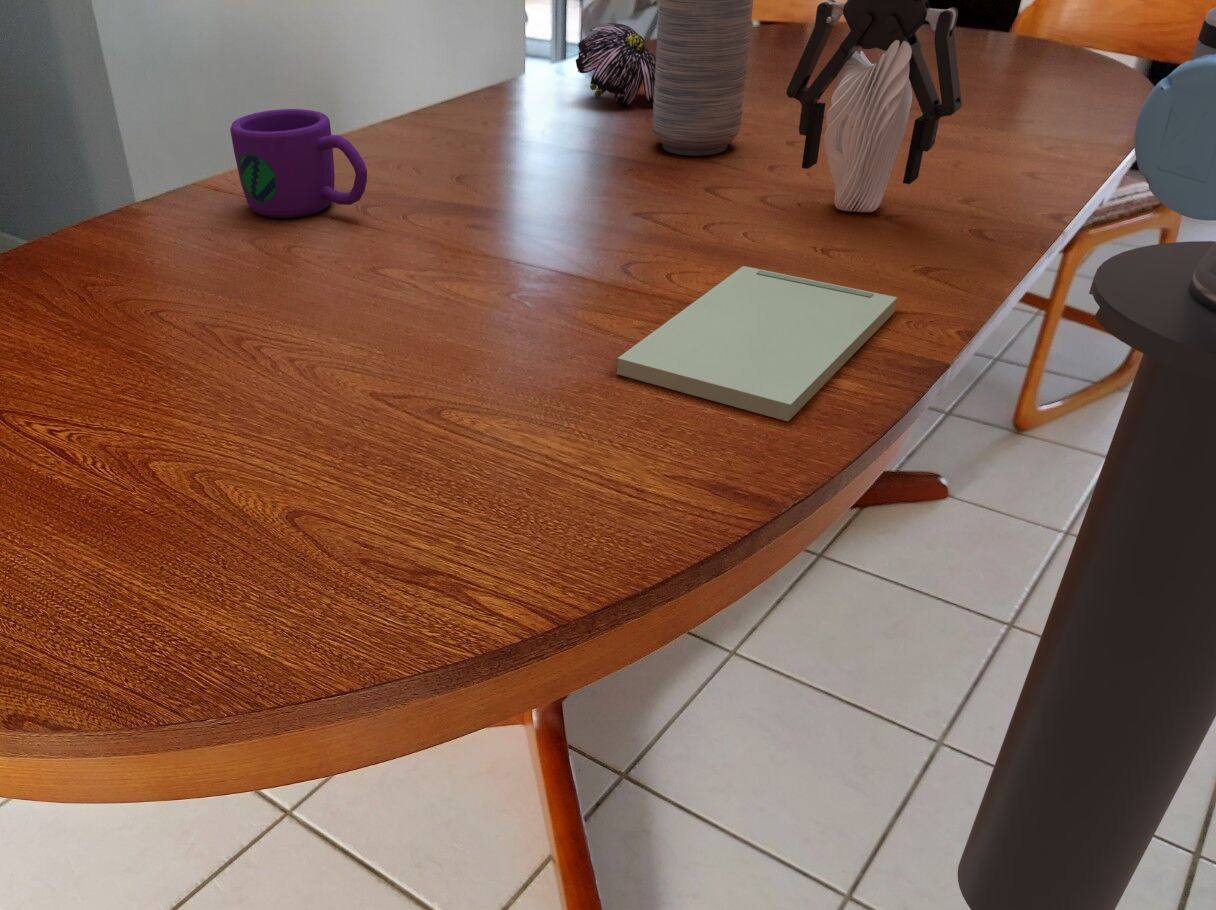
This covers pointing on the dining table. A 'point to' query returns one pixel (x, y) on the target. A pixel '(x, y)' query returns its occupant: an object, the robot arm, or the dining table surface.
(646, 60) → the decorative flower
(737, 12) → the vase
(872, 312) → the cutting board
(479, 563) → the dining table surface
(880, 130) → the shell sculpture
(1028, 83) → the dining table surface
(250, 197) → the mug
